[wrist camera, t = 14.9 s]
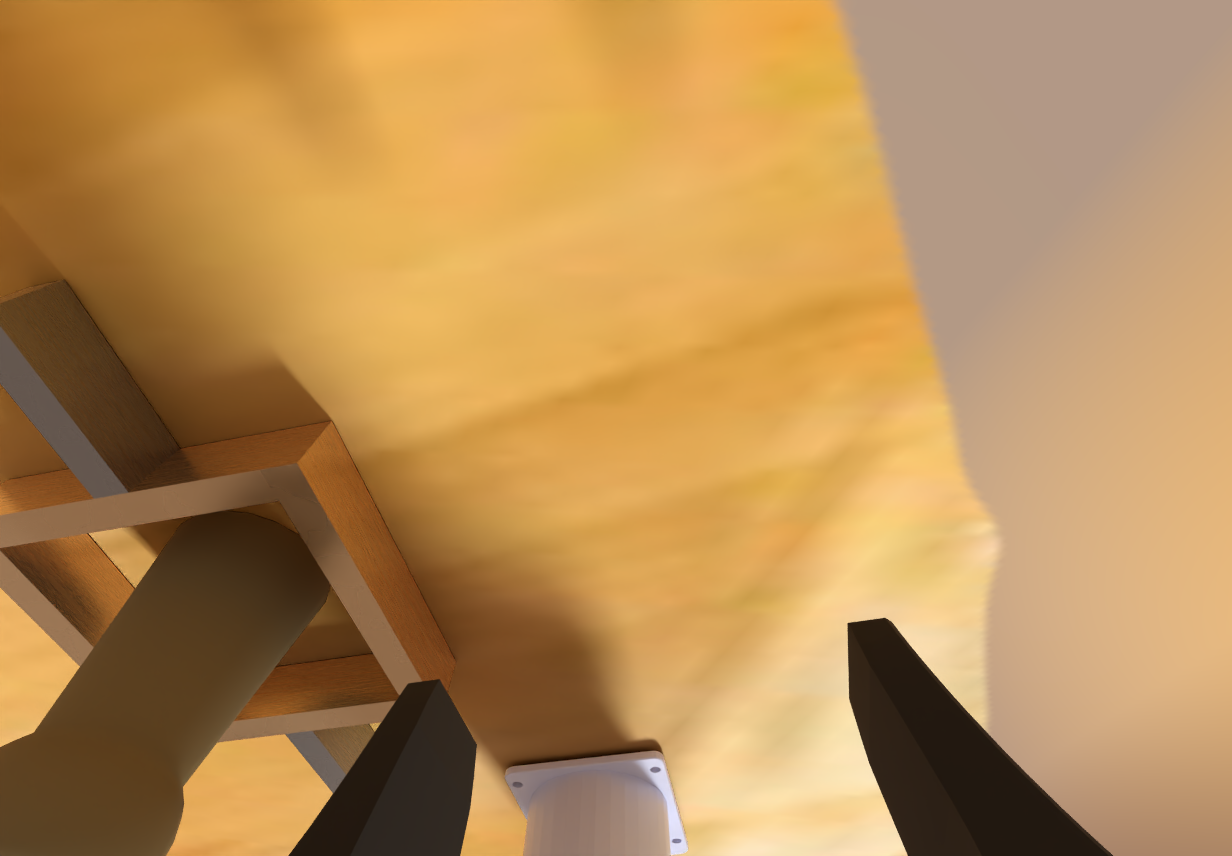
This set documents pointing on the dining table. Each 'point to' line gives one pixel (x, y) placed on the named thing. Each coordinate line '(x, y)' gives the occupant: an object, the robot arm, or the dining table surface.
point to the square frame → (186, 486)
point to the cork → (159, 691)
